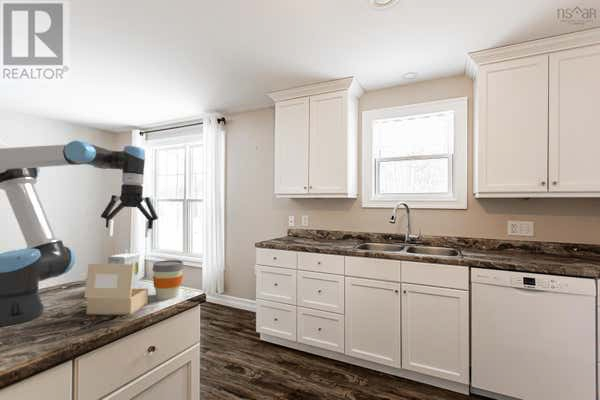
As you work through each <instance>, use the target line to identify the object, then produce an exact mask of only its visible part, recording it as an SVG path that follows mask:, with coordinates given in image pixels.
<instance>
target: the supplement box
mask: <svg viewBox="0 0 600 400" xmlns="http://www.w3.org/2000/svg"><path fill="white" fill-rule="evenodd" d="M107 264H134V269H133V280H132V289H139V279H140V278H139V277H140V253H127V252H126V253H124V252H123V253H121V254H115V255H109V256H107Z"/></svg>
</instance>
